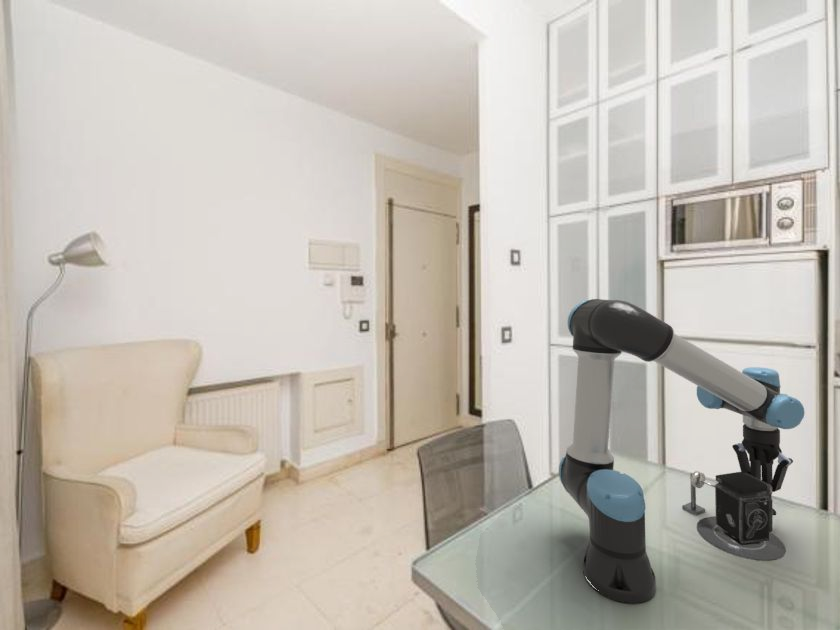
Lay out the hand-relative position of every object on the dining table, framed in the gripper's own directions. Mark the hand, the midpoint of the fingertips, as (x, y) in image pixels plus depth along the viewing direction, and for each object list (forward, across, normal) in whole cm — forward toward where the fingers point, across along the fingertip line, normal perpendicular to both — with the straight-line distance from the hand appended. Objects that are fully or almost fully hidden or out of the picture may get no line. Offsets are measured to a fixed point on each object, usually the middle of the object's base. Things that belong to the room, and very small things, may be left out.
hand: (761, 511), depth 107 cm
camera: (+4, 0, +8) cm, 9 cm away
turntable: (+4, 0, +10) cm, 11 cm away
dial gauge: (+4, +11, +8) cm, 14 cm away
